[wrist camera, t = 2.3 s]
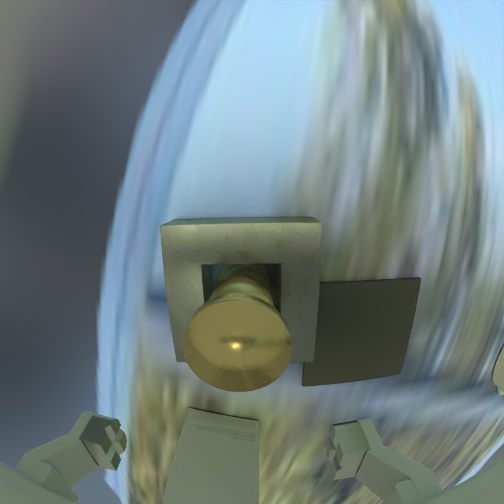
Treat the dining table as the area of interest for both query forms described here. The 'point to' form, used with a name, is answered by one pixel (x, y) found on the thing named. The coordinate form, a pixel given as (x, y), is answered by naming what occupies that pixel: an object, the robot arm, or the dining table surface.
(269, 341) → the knob
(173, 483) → the supplement box
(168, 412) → the dining table surface
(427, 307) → the dining table surface
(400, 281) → the mat
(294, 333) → the housing
